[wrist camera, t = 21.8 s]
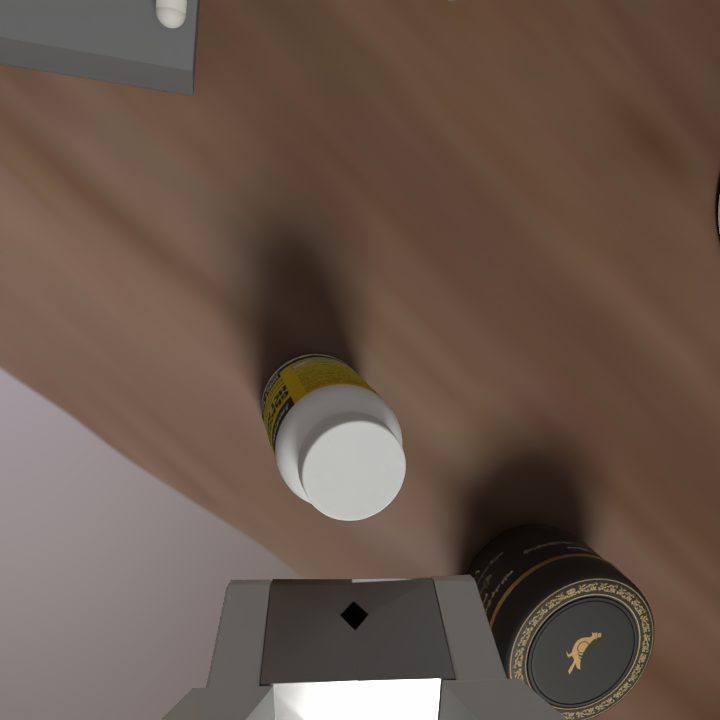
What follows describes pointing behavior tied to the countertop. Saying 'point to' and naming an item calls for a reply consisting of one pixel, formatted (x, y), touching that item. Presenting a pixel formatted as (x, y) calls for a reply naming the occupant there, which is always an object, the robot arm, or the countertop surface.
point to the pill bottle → (333, 437)
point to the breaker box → (104, 40)
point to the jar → (564, 619)
